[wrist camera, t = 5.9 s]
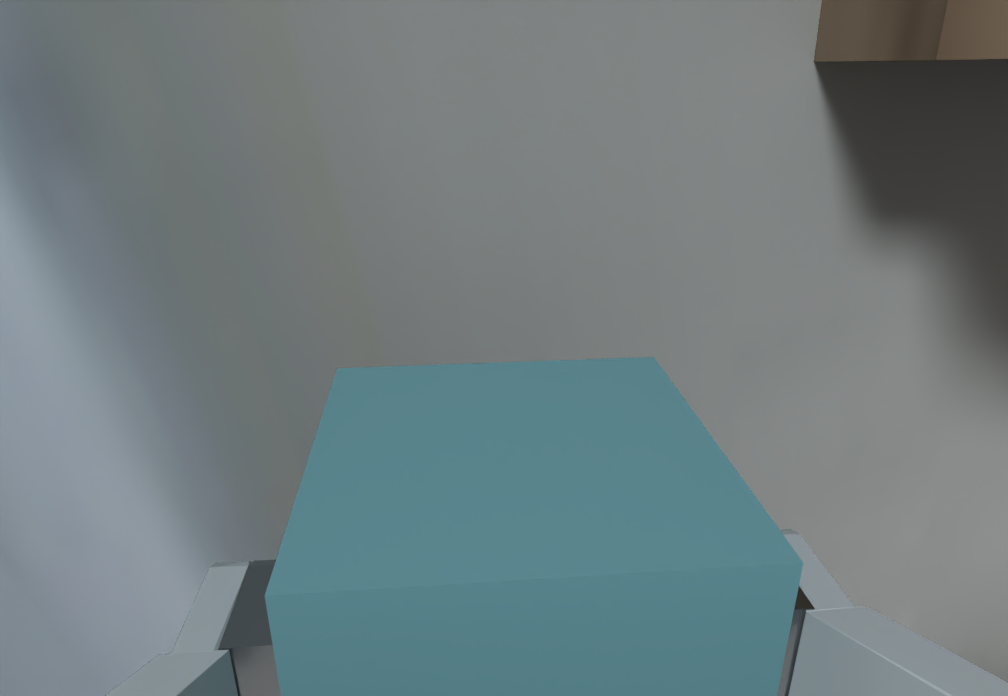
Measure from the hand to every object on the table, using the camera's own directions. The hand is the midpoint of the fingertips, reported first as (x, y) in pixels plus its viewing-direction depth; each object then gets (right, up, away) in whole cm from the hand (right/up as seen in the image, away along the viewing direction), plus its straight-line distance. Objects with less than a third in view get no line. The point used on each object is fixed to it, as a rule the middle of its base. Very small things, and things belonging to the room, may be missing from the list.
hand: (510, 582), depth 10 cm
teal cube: (0, +1, +2) cm, 2 cm away
